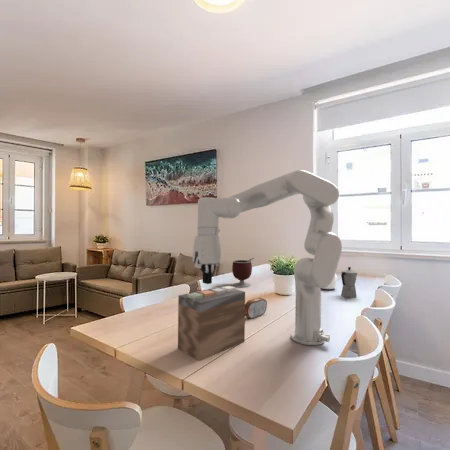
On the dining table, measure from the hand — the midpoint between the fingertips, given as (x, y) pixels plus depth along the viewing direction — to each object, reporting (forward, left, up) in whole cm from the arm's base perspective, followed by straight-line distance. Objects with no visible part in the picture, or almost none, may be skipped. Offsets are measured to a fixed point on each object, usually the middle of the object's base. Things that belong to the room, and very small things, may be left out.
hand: (207, 283), depth 105 cm
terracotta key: (0, 0, -6) cm, 6 cm away
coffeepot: (-4, -112, -23) cm, 114 cm away
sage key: (0, +5, -6) cm, 8 cm away
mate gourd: (+59, -85, -23) cm, 106 cm away
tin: (+10, -40, -24) cm, 47 cm away
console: (0, -3, -23) cm, 23 cm away
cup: (+15, -122, -24) cm, 125 cm away
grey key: (0, -6, -6) cm, 8 cm away
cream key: (0, -11, -6) cm, 12 cm away
